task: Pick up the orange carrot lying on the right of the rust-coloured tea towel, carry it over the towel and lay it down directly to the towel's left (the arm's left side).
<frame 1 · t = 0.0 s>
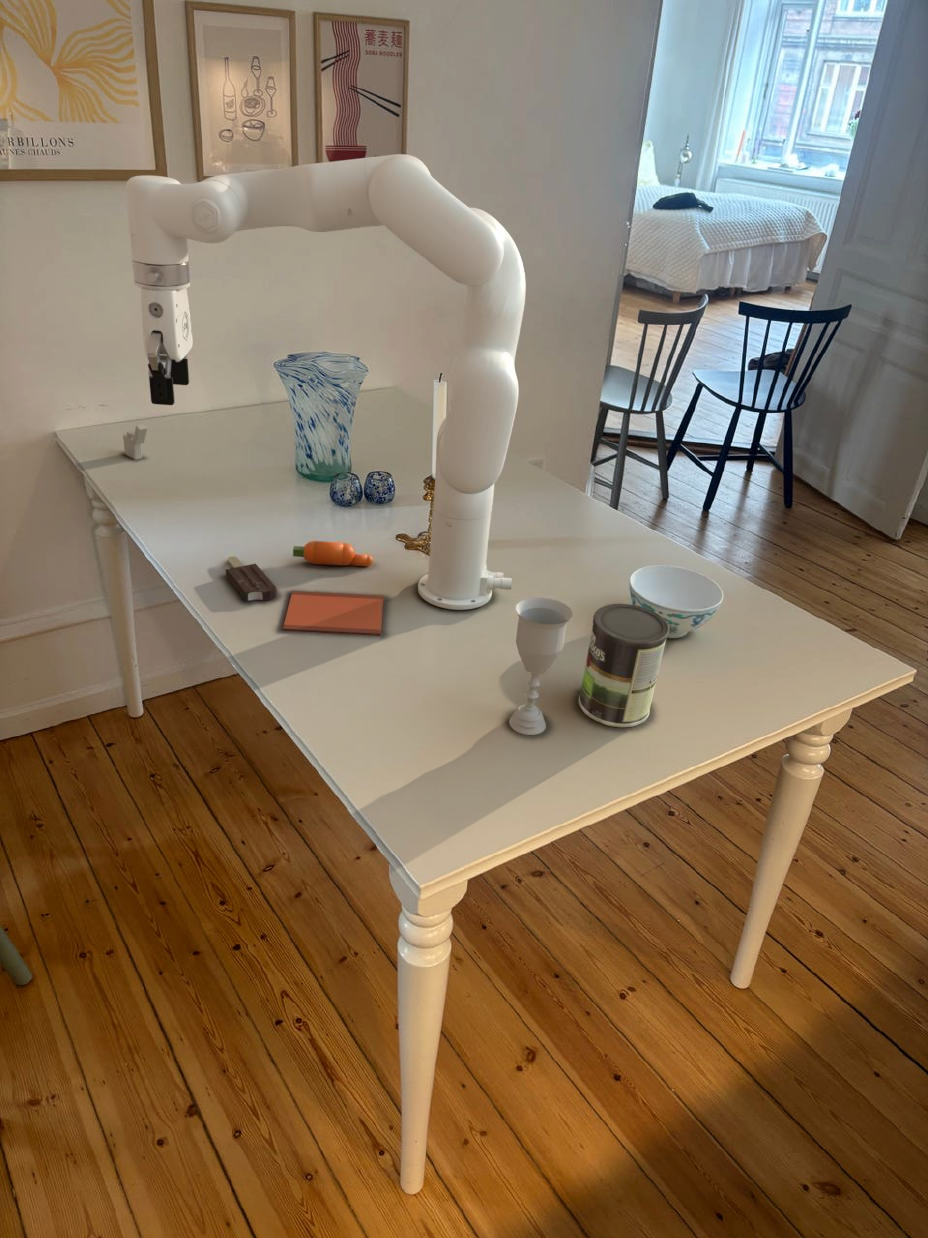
hand: (170, 393, 139), 31 cm above the table, tool pointing down, fingers open, 9 cm apart
coffee can: (614, 707, 133), on the table
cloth: (335, 613, 149), on the table
white jagged block: (137, 458, 197), on the table
chinaware: (666, 628, 154), on the table
ice cream bar: (246, 582, 155), on the table
chalice: (527, 724, 128), on the table
carrot: (328, 563, 163), on the table
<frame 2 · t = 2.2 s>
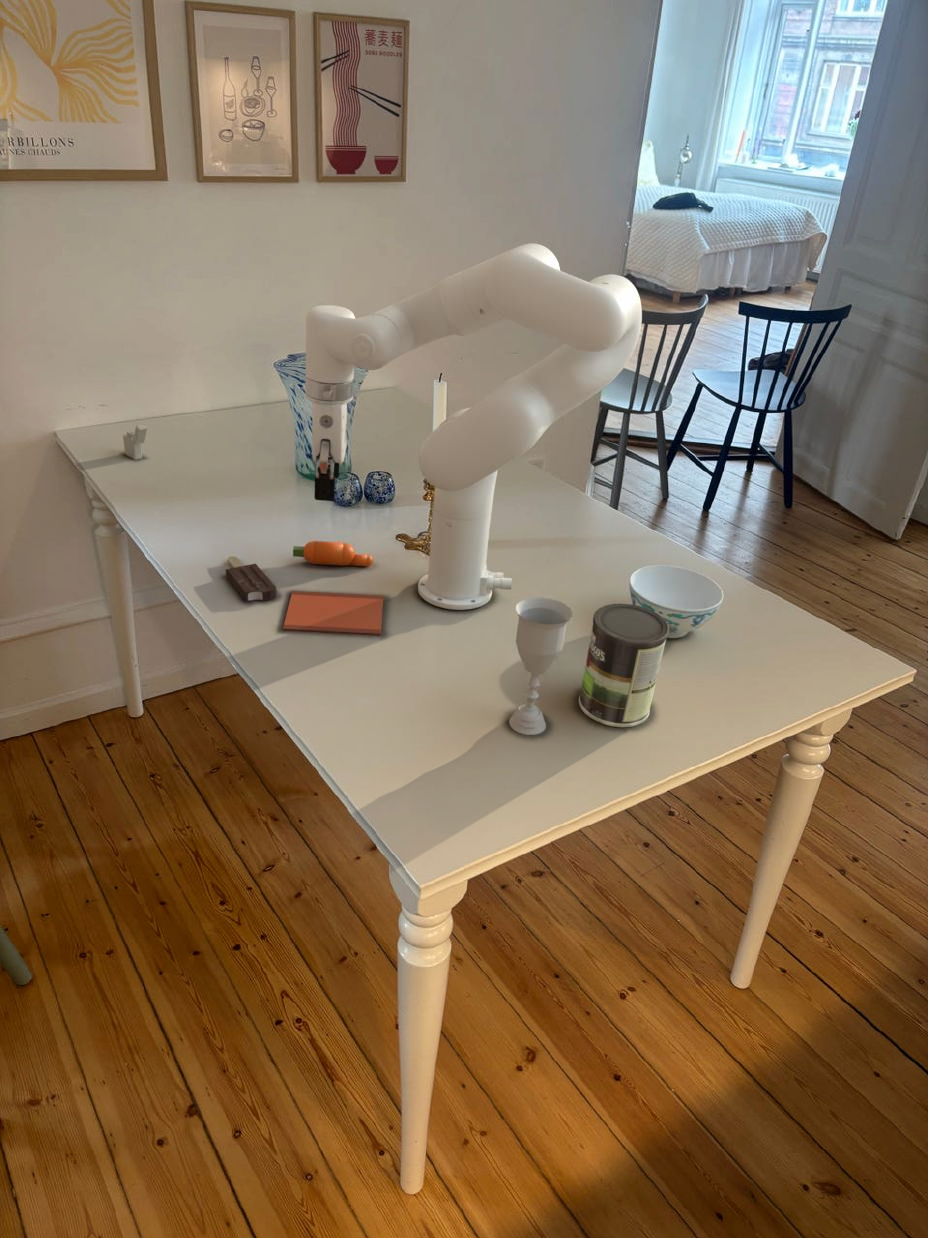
hand: (327, 488, 156), 14 cm above the table, tool pointing down, fingers open, 9 cm apart
nothing on the table moved.
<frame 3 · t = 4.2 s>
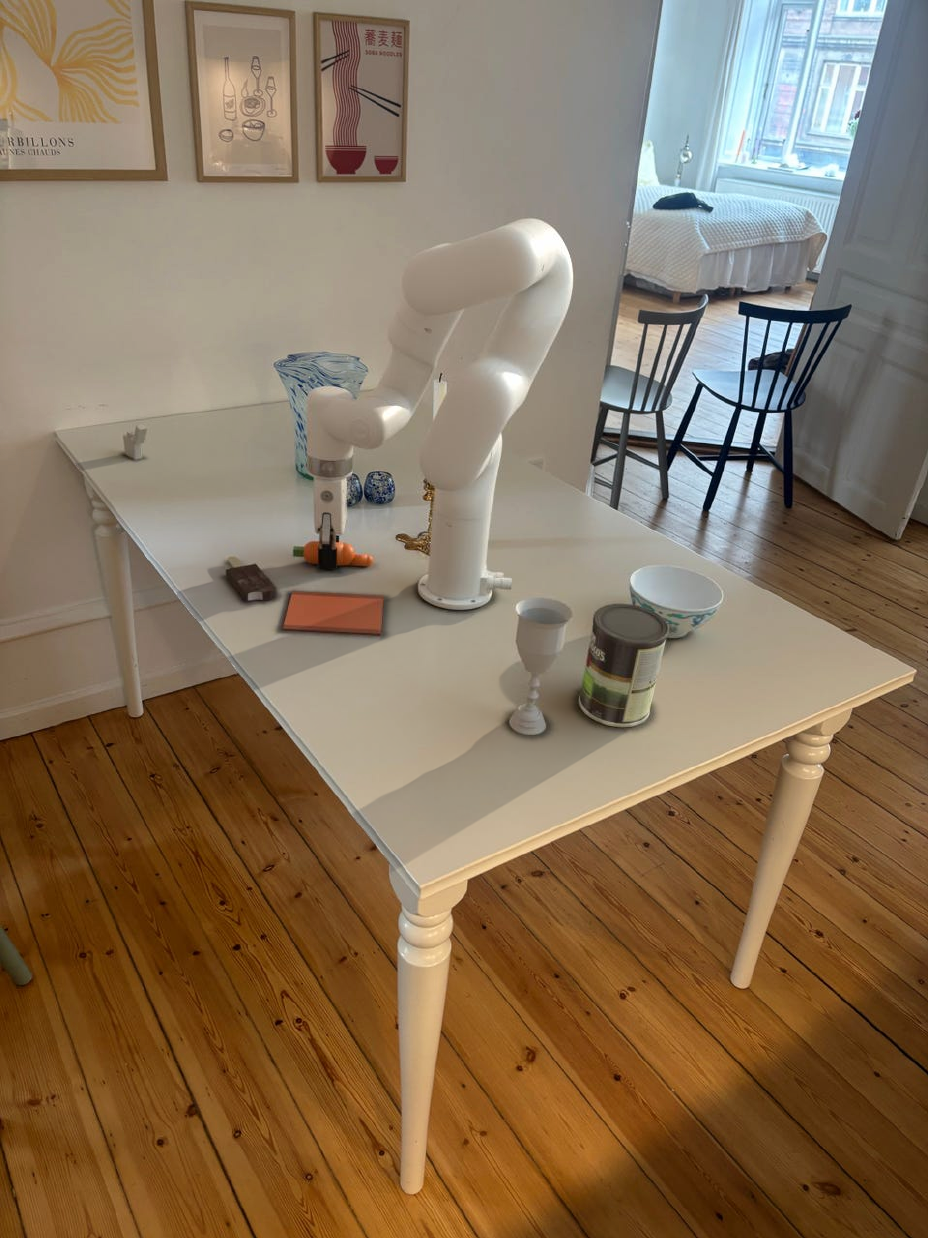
hand: (328, 560, 163), 1 cm above the table, tool pointing down, fingers closed on carrot, 4 cm apart
carrot: (328, 563, 163), on the table, touching gripper
everything else where it was.
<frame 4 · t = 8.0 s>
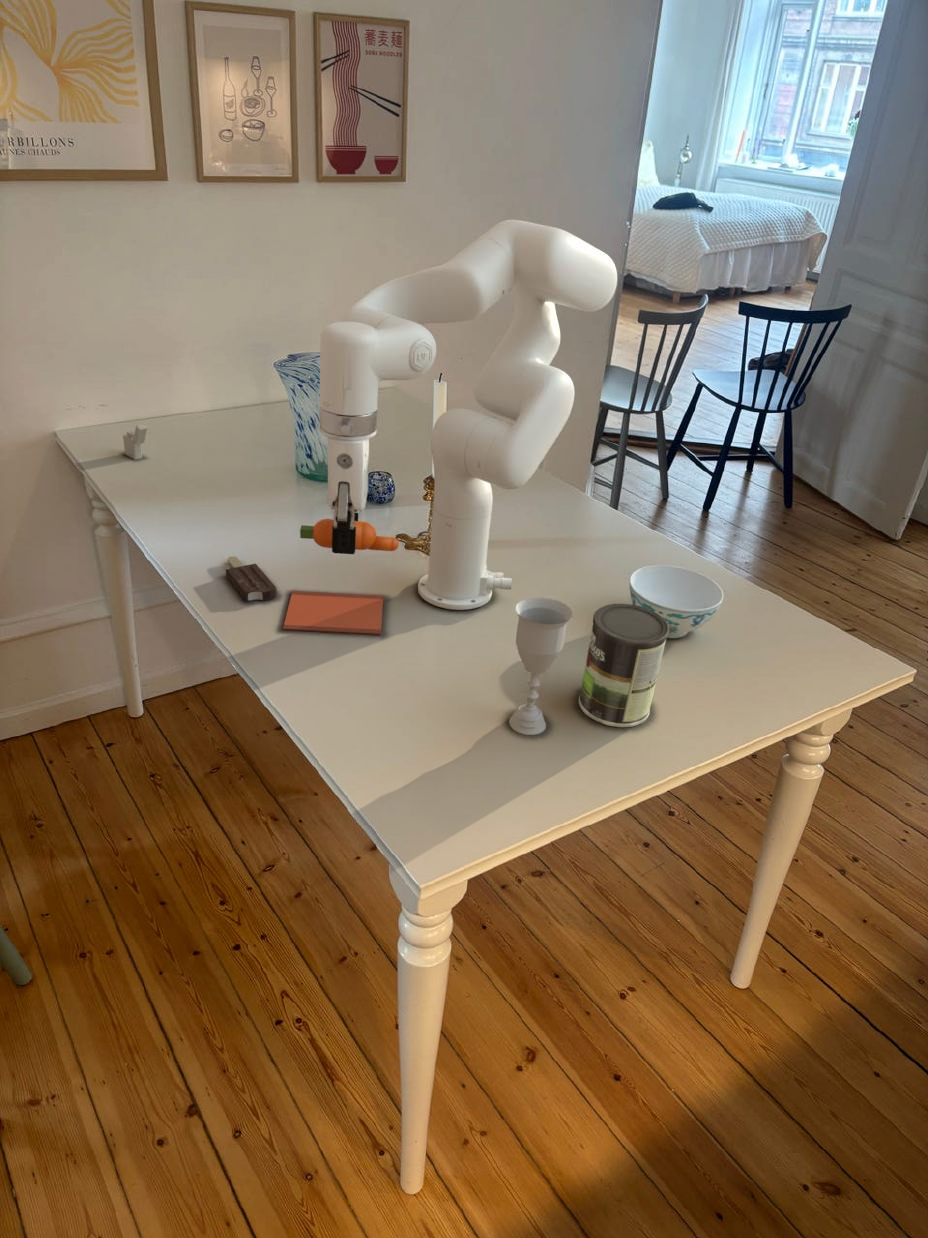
hand: (345, 544, 132), 17 cm above the table, tool pointing down, fingers closed on carrot, 4 cm apart
carrot: (344, 547, 132), point 17 cm above the table, touching gripper
everything else where it was.
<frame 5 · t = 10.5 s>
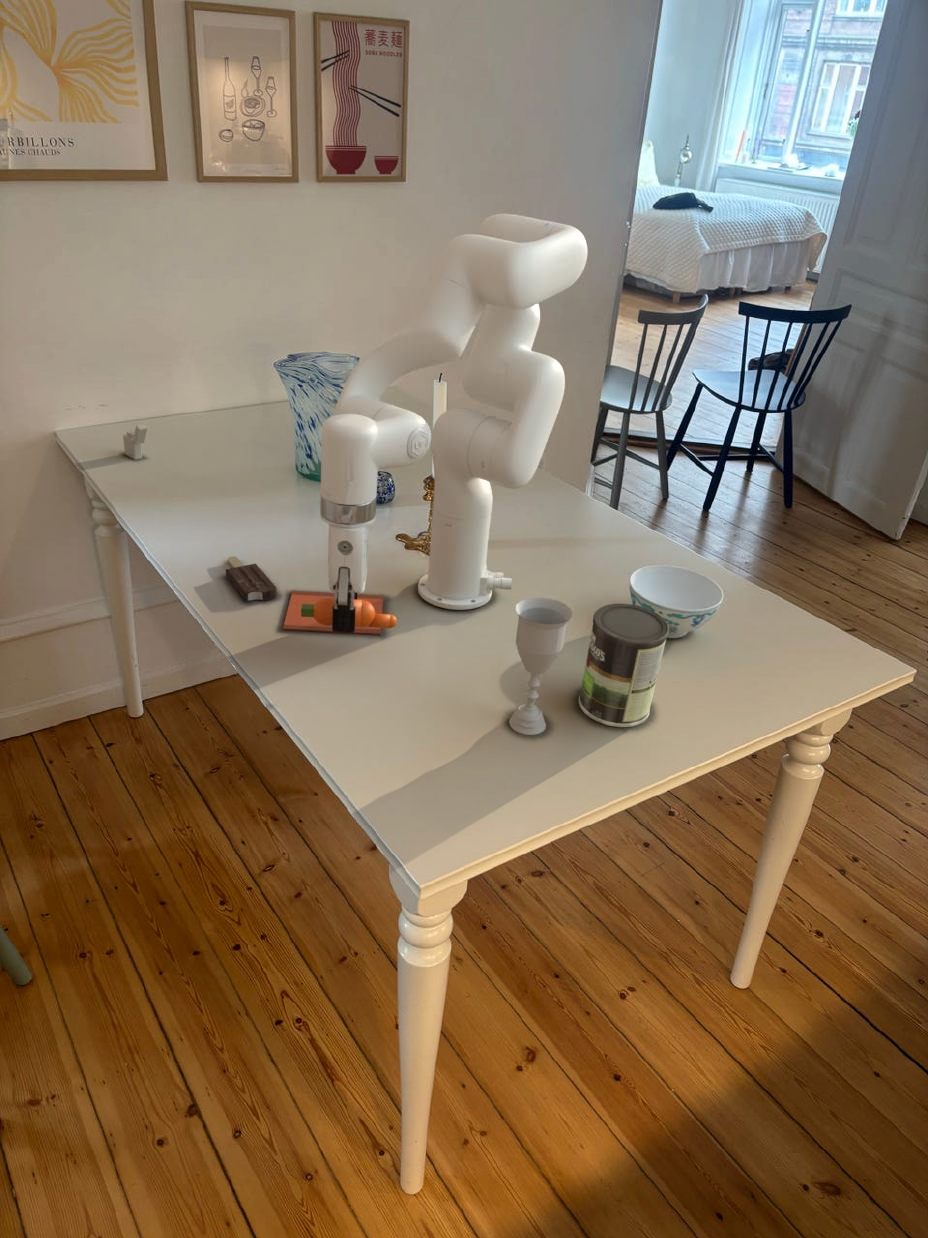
hand: (344, 621, 135), 6 cm above the table, tool pointing down, fingers closed on carrot, 4 cm apart
carrot: (343, 624, 136), point 5 cm above the table, touching gripper
everything else where it was.
when the fingers open (0 cm above the table, at t = 12.1 s): carrot stays where it is, on the table.
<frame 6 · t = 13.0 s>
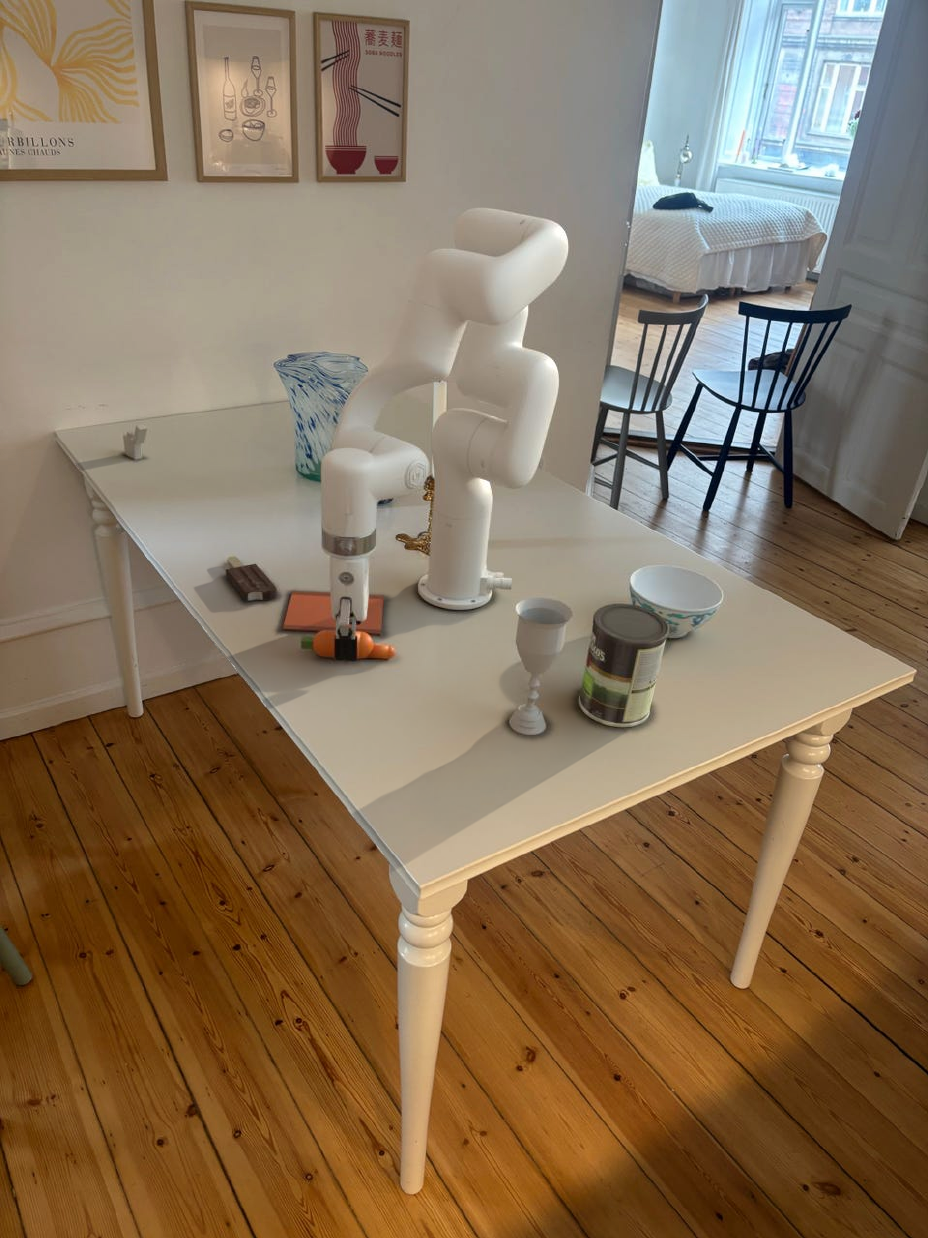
hand: (348, 640, 138), 2 cm above the table, tool pointing down, fingers open, 9 cm apart
carrot: (342, 655, 138), on the table
everything else where it was.
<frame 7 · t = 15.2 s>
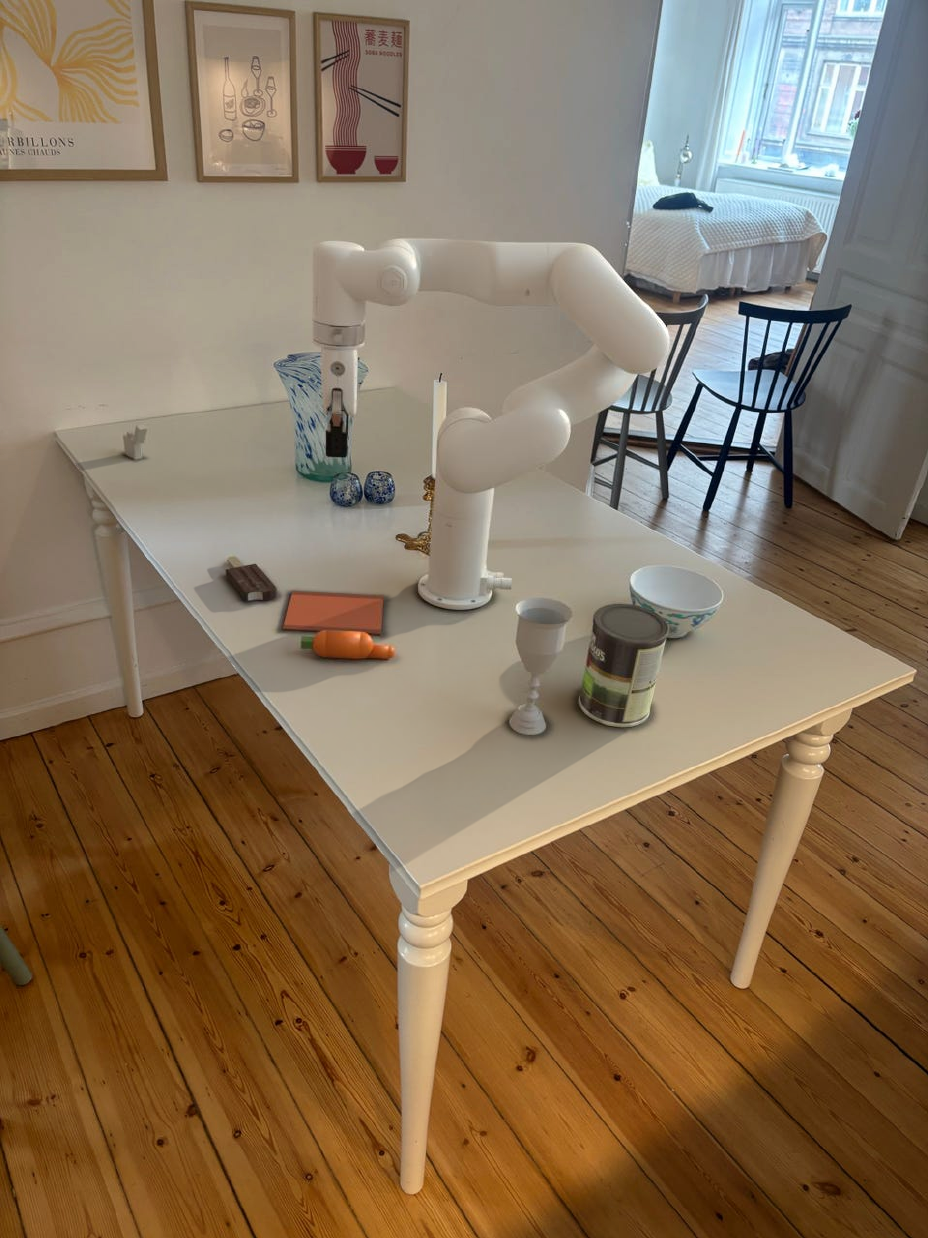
hand: (337, 444, 144), 25 cm above the table, tool pointing down, fingers open, 9 cm apart
nothing on the table moved.
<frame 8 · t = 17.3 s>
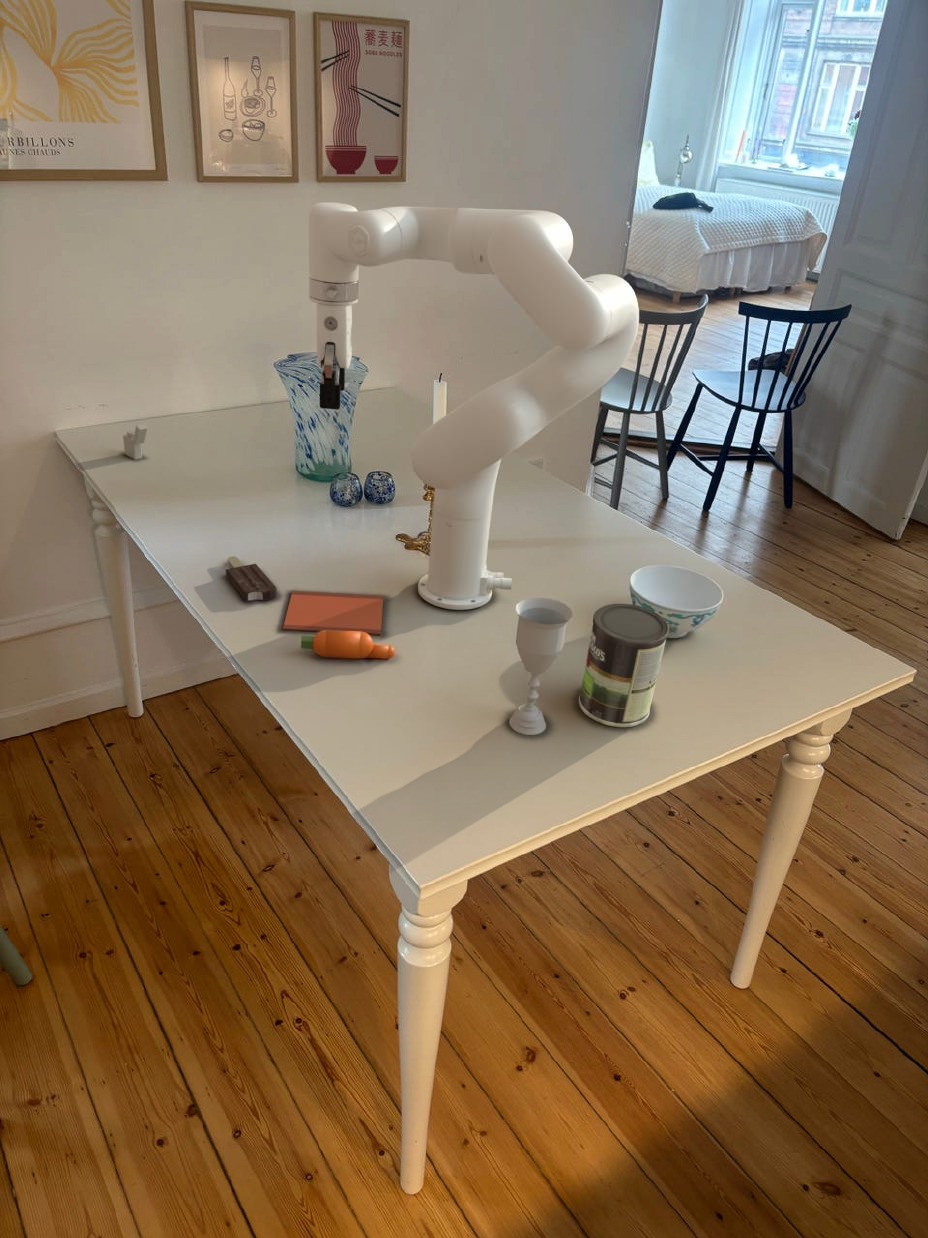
hand: (332, 398, 152), 28 cm above the table, tool pointing down, fingers open, 9 cm apart
nothing on the table moved.
at the end: carrot inside the target area on the table beside the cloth (0.8 cm from its centre), on the table; carrot touching table; the gripper is holding nothing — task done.
